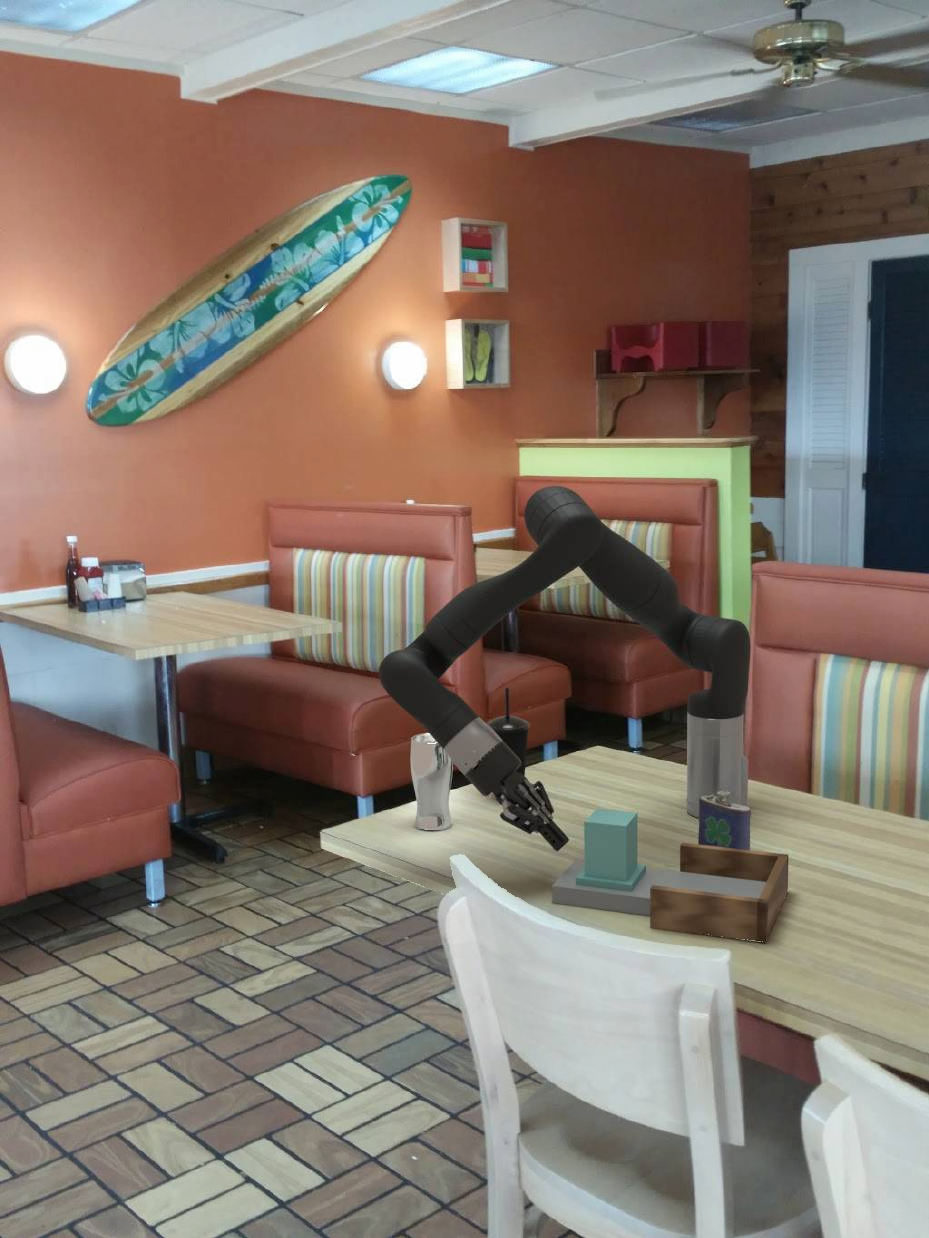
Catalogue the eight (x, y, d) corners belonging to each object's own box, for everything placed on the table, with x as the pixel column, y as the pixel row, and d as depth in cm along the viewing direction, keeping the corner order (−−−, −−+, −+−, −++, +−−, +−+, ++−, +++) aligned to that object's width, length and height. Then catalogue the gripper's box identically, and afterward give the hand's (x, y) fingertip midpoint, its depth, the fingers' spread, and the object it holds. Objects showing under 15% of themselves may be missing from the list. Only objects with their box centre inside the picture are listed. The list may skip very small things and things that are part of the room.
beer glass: (449, 833, 210) (447, 744, 207) (408, 831, 211) (405, 742, 209) (458, 819, 216) (456, 732, 214) (418, 817, 218) (415, 731, 215)
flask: (753, 864, 193) (754, 795, 191) (741, 869, 191) (742, 800, 189) (704, 849, 200) (705, 782, 198) (692, 853, 198) (692, 786, 196)
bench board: (552, 902, 180) (552, 885, 180) (576, 874, 190) (575, 858, 190) (753, 929, 170) (753, 912, 169) (767, 899, 180) (767, 882, 179)
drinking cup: (485, 793, 230) (482, 684, 227) (527, 791, 231) (526, 682, 227) (489, 806, 222) (487, 694, 219) (533, 804, 223) (531, 692, 220)
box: (650, 927, 171) (650, 888, 170) (681, 878, 188) (682, 842, 187) (765, 943, 166) (766, 903, 165) (787, 891, 182) (788, 854, 181)
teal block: (575, 884, 180) (575, 823, 179) (592, 864, 188) (592, 805, 186) (631, 891, 177) (631, 829, 176) (646, 871, 184) (646, 811, 183)
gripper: (482, 759, 194) (560, 846, 192) (447, 785, 182) (530, 877, 180) (514, 728, 191) (594, 815, 189) (481, 752, 179) (566, 845, 177)
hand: (563, 845), depth 184 cm, fingers closed
